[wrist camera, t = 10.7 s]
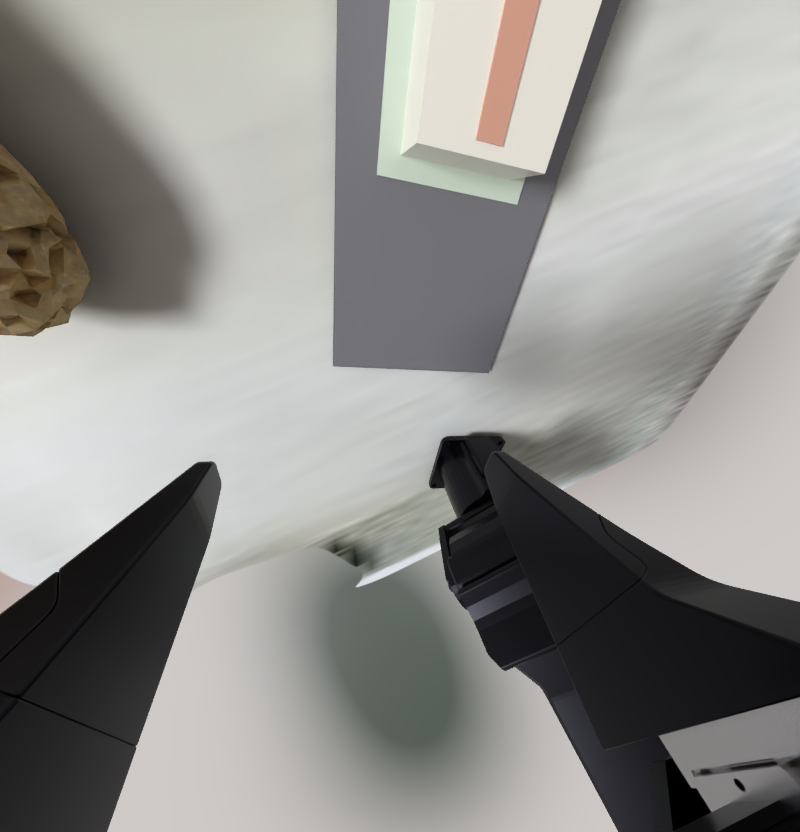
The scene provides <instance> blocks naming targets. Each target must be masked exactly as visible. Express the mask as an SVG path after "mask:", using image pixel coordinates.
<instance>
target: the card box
mask: <svg viewBox="0 0 800 832" xmlns="http://www.w3.org/2000/svg"><path fill="white" fill-rule="evenodd" d="M601 2H602V0H417V4H416V14H415V23H414V33H413V42H412V52H411V61H410V71H409V81H408V90H407V100H406V109H405V119H404V128H403V138H402V147H401V155H402V156H407V157H411V158H415V159H420V160H424V161H429V162H433V163H437V164H442V165H446V166H450V167H455V168H459V169H463V170H468V171H472V172H477V173H481V174H485V175H490V176H494V177H498V178H503V179H507V180H511V179H517V178H523V177H530V176H536V175H542V174H545V172H546V169H547V166H548V163H549V160H550V157H551V154H552V151H553V148H554V145H555V142H556V139H557V136H558V133H559V130H560V127H561V124H562V121H563V118H564V115H565V111H566V108H567V105H568V102H569V99H570V96H571V93H572V90H573V87H574V84H575V81H576V78H577V75H578V72H579V69H580V66H581V63H582V60H583V57H584V54H585V51H586V48H587V45H588V42H589V39H590V36H591V32H592V29H593V26H594V23H595V20H596V17H597V14H598V11H599V8H600V5H601Z"/></svg>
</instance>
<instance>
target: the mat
mask: <svg viewBox="0 0 800 832" xmlns="http://www.w3.org/2000/svg"><path fill="white" fill-rule="evenodd" d="M620 1H621V0H602V2H601V5H600V8H599V11H598V14H597V17H596V20H595V23H594V26H593V29H592V32H591V36H590V39H589V42H588V45H587V48H586V51H585V54H584V57H583V60H582V63H581V66H580V69H579V72H578V75H577V78H576V81H575V84H574V87H573V90H572V93H571V96H570V99H569V102H568V105H567V108H566V111H565V115H564V118H563V121H562V124H561V127H560V130H559V133H558V136H557V139H556V142H555V145H554V148H553V151H552V154H551V157H550V160H549V163H548V166H547V169H546V172H545V174H542V175H536V176H530V177H523V178H517V179H511V180H507V179H503V178H498V177H494V176H490V175H485V174H481V173H477V172H472V171H468V170H463V169H459V168H455V167H450V166H446V165H442V164H437V163H433V162H429V161H424V160H420V159H415V158H411V157H407V156H402V155H401V147H402V138H403V128H404V119H405V109H406V100H407V90H408V81H409V71H410V61H411V52H412V42H413V33H414V23H415V14H416V4H417V0H337V69H336V156H335V243H334V329H333V366H340V367H363V368H386V369H409V370H431V371H454V372H477V373H489V371H490V368H491V365H492V362H493V359H494V356H495V354H496V351H497V348H498V345H499V342H500V340H501V337H502V334H503V331H504V328H505V325H506V323H507V320H508V317H509V314H510V311H511V309H512V306H513V303H514V300H515V297H516V294H517V292H518V289H519V286H520V283H521V280H522V277H523V275H524V272H525V269H526V266H527V263H528V261H529V258H530V255H531V252H532V249H533V246H534V244H535V241H536V238H537V235H538V232H539V230H540V227H541V224H542V221H543V218H544V215H545V213H546V210H547V207H548V204H549V201H550V199H551V196H552V193H553V190H554V187H555V184H556V182H557V179H558V176H559V173H560V170H561V168H562V165H563V162H564V159H565V156H566V153H567V151H568V148H569V145H570V142H571V139H572V136H573V134H574V131H575V128H576V125H577V122H578V120H579V117H580V114H581V111H582V108H583V105H584V103H585V100H586V97H587V94H588V91H589V89H590V86H591V83H592V80H593V77H594V74H595V72H596V69H597V66H598V63H599V60H600V58H601V55H602V52H603V49H604V46H605V43H606V41H607V38H608V35H609V32H610V29H611V27H612V24H613V21H614V18H615V15H616V12H617V10H618V7H619V4H620Z"/></svg>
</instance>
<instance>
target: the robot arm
mask: <svg viewBox="0 0 800 832" xmlns="http://www.w3.org/2000/svg"><path fill="white" fill-rule="evenodd" d="M447 442H448V443H447ZM445 443H447V444H445ZM504 444H505V440H504V439H503V438H502V437H449V438H444V439H442V441H441V443H440V446H439V450H438V453H437V457H436V460H435V463H434V467H433V470H432V474H431V477H430V480H429V486H430V488H433V489H434V488H445V490H446V492H447V495H448V497H449V499H450V502H451V504H452V507H453V509H454V511H455V514H456V516H457V519H455V520H454V521H452V522H450V523H449V524H447V525H443V526H441V527H440V528H438V529H439V536H440V545H441V551H442V557H443V563H444V570H445V576H446V580H447V582H448V586H449V589H450V590H451V592H453V593H454V594H455V596H456V598H457V599H458V601H459V602H460V603H461V605H462V606H463V607H464V608H465V609H466V610H468V611H469V613H470V615H471V617H472V619H473V621H474V623H475V625H476V627H477V629H478V632H479V634H480V637H481V639H482V641H483V643H484V646H485V648H486V651H487V653H488V655H489V656H490V657H491V658H492V659H493V660H494V661H495V662H496V663H497V665H499V667H500V668H501V669H503V670H505V671H506V670H509V669H511V668H513V667H516V668H517V669H518V670H520V671H521V672H522V673H523V674H525V675H526V676H527V677H529V678H530V679H531V680H532V681H533V682H535V683H536V684H537V685H539V686H540V687H541V689H542V690H543V692H544V693H545V695H546V697H547V699H548V700H549V702H550V704H551V706H552V708H553V710H554V712H555V713H556V715H557V717H558V719H559V721H560V723H561V725H562V727H563V729H564V730H565V732H566V734H567V736H568V738H569V740H570V741H571V744H572V746H573V747H574V749H575V751H576V753H577V755H578V756H579V759H580V761H581V762H582V764H583V766H584V768H585V770H586V772H587V774H588V776H589V777H590V779H591V781H592V783H593V785H594V787H595V789H596V791H597V792H598V794H599V796H600V798H601V800H602V802H603V804H604V806H605V807H606V809H607V811H608V813H609V815H610V817H611V819H612V821H613V823H614V824H615V826H616V828H617V830H618V832H800V602H797V601H793V600H788V599H784V598H780V597H776V596H771V595H767V594H762V593H758V592H753V591H750V590H745V589H741V588H736V587H732V586H728V585H725V584H722V583H718V582H716V581H713V580H710V579H708V578H706V577H704V576H702V575H700V574H698V573H696V572H694V571H692V570H691V569H689V568H687V567H685V566H684V565H682V564H680V563H679V562H677V561H675V560H673V559H672V558H670V557H668V556H667V555H665V554H663V553H661V552H659V551H658V550H656V549H655V548H653V547H651V546H649V545H648V544H646V543H644V542H643V541H641V540H639V539H638V538H636V537H634V536H633V535H631V534H629V533H628V532H626V531H624V530H623V529H621V528H620V527H618V526H617V525H615V524H613V523H612V522H610V521H609V520H607V519H606V518H604V517H603V516H601V515H600V514H597V513H596V512H595V511H593V510H592V509H590V508H589V507H587V506H586V505H584V504H583V503H581V502H580V501H578V500H577V499H575V498H574V497H572V496H570V495H569V494H567V493H566V492H564V491H563V490H561V489H560V488H558V487H557V486H555V485H554V484H552V483H551V482H549V481H547V480H546V479H544V478H543V477H541V476H540V475H538V474H537V473H535V472H534V471H532V470H531V469H529V468H528V467H526V466H525V465H523V464H521V463H520V462H518V461H517V460H515V459H514V458H512V457H511V456H509V455H508V454H506V453H505V452H501V450H502V448H503V446H504ZM220 491H221V479H220V476H219V473H218V469H217V466H216V464H215V463H214V462H212V461H209V462H197V463H196V464H194V465H193V466H192V467H190V468H189V469H188V470H186V471H185V472H184V473H183V474H181V475H180V476H179V477H177V478H176V479H175V480H174V481H172V482H171V483H170V484H168V485H167V486H166V487H164V488H163V489H162V490H161V491H159V492H158V493H157V494H155V495H154V496H153V497H152V498H150V499H149V500H148V501H146V502H145V503H144V504H143V505H141V506H140V507H139V508H137V509H136V510H135V511H134V512H132V513H131V514H130V515H128V516H127V517H126V518H125V519H123V520H122V521H121V522H119V523H118V524H117V525H115V526H114V527H113V528H112V529H110V530H109V531H108V532H106V533H105V534H104V535H103V536H101V537H100V538H99V539H97V540H96V541H95V542H94V543H92V544H91V545H90V546H88V547H87V548H86V549H85V550H83V551H82V552H81V553H79V554H78V555H77V556H76V557H74V558H73V559H72V560H70V561H69V562H68V563H66V564H65V565H64V566H63V567H61V568H60V569H59V572H55V573H53V574H52V575H51V576H50V577H48V578H47V579H46V580H44V581H43V582H42V583H40V584H39V585H38V586H37V587H35V588H34V589H33V590H31V591H30V592H29V593H27V594H26V595H25V596H23V597H22V598H21V599H19V600H18V601H17V602H15V603H14V604H13V605H12V606H10V607H9V608H7V609H6V610H5V611H4V612H2V613H1V614H0V832H107V830H108V827H109V825H110V821H111V819H112V816H113V813H114V810H115V808H116V804H117V801H118V799H119V796H120V793H121V790H122V788H123V785H124V782H125V779H126V776H127V773H128V770H129V767H130V765H131V762H132V759H133V756H134V753H135V751H136V745H137V744H138V742H139V738H140V736H141V733H142V730H143V727H144V724H145V722H146V719H147V716H148V713H149V710H150V707H151V704H152V702H153V699H154V696H155V693H156V690H157V687H158V685H159V682H160V679H161V676H162V673H163V670H164V668H165V665H166V662H167V659H168V656H169V653H170V650H171V648H172V645H173V642H174V639H175V636H176V634H177V631H178V628H179V625H180V622H181V619H182V616H183V614H184V611H185V608H186V605H187V602H188V599H189V597H190V594H191V591H192V588H193V585H194V582H195V580H196V577H197V574H198V571H199V568H200V565H201V562H202V560H203V557H204V554H205V551H206V548H207V545H208V542H209V539H210V535H211V531H212V527H213V522H214V518H215V513H216V509H217V504H218V500H219V495H220Z"/></svg>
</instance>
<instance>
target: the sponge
mask: <svg viewBox="0 0 800 832" xmlns="http://www.w3.org/2000/svg"><path fill="white" fill-rule="evenodd" d="M90 280H91V276H90V273H89V270H88V266H87V263H86V261H85V259H84V257H83V255H82V253H81V251H80V249H79V247H78V245H77V243H76V240H75V238H74V237H72V236H71V235H70V234H69V233H68V231H67V227H66V222H65V219H64V217H63V216H62V214H61V213H60V211H59V210H58V208H57V207H56V205H55V204H54V203H53V201H52V199H51V198H50V197H49V196H48V195H47V194H46V193H45V192H44V190H43V189H42V188H41V186H40V185H39V184H38V183H37V181H36V180H35V179H34V178H33V176H32V175H31V174H30V173H29V172H28V171H27V170H26V168H25V167H24V166H23V165H22V164H21V163H20V162H19V161H18V160H17V159H15V158H14V157H13V156H12V155H11V154H10V153H9V152H8V151H7V149H6V148H5V147H4V146H3V145H2V144H0V335H16V336H35V335H37V334H38V333H40V332H41V331H43V330H44V329H45V328H49V327H53V326H57V325H61V324H65V323H68V322H69V318H70V315H71V311H72V310H73V309H74V308H75V306H76V305H77V304H78V303H79V302H80V301H81V300H82V298H83V295H84V292H85V290H86V288H87V286H88V284H89V282H90Z"/></svg>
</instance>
